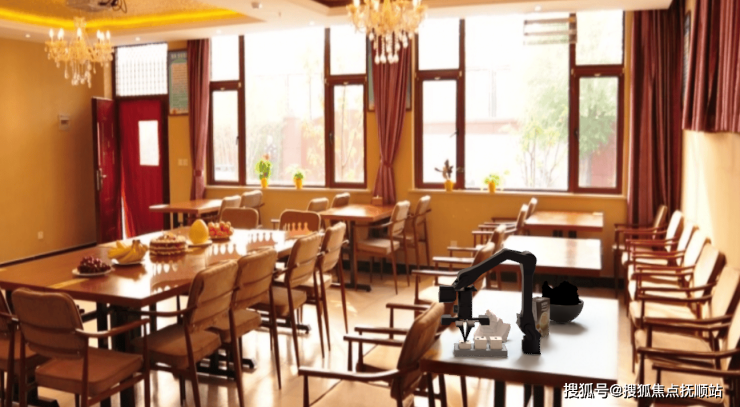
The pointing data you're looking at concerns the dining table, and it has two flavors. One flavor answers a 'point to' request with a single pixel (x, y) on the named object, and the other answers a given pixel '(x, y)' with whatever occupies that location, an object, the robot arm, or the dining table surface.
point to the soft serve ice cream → (493, 328)
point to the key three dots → (464, 344)
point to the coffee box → (541, 314)
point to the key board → (481, 351)
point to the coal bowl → (563, 301)
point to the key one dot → (495, 343)
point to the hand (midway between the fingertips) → (465, 341)
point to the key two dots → (480, 342)
